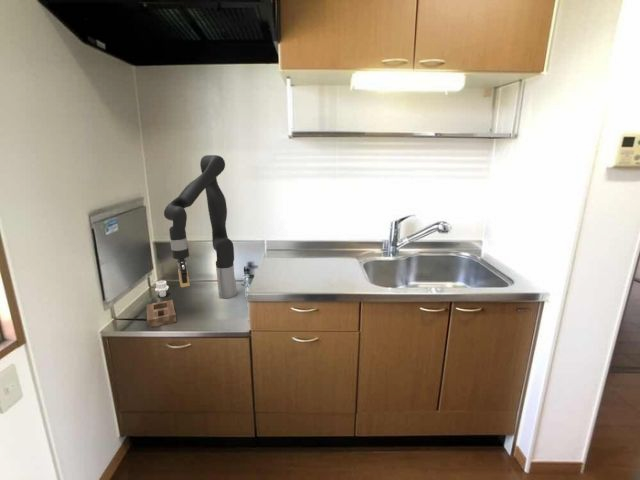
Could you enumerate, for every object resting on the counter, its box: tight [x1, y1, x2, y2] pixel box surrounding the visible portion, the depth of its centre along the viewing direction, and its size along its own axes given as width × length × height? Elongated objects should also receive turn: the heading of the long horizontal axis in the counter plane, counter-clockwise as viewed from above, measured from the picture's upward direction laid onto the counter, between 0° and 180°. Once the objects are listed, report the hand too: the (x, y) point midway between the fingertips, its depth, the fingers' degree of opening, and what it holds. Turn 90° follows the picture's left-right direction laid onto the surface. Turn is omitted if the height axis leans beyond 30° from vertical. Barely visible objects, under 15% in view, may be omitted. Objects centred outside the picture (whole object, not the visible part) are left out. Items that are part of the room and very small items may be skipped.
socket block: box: [146, 299, 177, 329], centre depth 169 cm, size 12×18×4 cm, turn 26°
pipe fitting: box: [154, 280, 170, 298], centre depth 192 cm, size 6×7×8 cm
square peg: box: [177, 268, 191, 288], centre depth 169 cm, size 4×4×8 cm
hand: (184, 281), depth 170 cm, fingers closed on square peg, 4 cm apart
